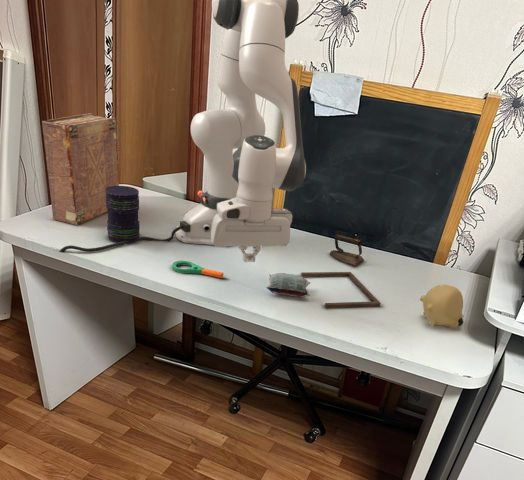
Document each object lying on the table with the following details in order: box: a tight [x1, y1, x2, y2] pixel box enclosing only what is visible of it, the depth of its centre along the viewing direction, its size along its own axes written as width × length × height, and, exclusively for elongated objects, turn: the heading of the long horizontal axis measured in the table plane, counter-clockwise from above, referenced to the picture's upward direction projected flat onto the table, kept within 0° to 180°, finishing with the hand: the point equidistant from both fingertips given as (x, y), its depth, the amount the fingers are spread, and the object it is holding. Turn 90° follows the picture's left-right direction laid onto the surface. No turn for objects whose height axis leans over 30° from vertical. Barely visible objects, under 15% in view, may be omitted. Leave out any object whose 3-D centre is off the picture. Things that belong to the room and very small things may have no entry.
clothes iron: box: [329, 233, 365, 268], centre depth 161 cm, size 7×11×10 cm, turn 57°
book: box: [41, 112, 120, 226], centre depth 165 cm, size 25×9×30 cm, turn 162°
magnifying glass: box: [171, 260, 224, 279], centre depth 141 cm, size 15×6×2 cm, turn 71°
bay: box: [300, 271, 382, 309], centre depth 142 cm, size 16×20×1 cm
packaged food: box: [265, 272, 311, 297], centre depth 137 cm, size 9×12×5 cm
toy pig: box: [419, 284, 464, 328], centre depth 130 cm, size 10×12×11 cm
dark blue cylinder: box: [105, 185, 141, 245], centre depth 153 cm, size 10×10×15 cm
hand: (248, 261), depth 129 cm, fingers closed
